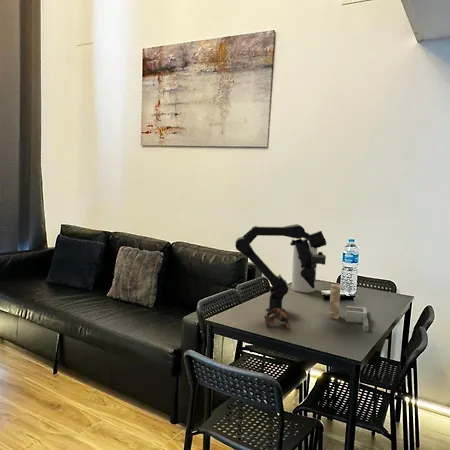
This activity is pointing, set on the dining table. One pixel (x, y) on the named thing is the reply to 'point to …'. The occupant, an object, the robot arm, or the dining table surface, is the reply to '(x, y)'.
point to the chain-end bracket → (357, 316)
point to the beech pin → (334, 301)
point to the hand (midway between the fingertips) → (314, 284)
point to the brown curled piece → (277, 316)
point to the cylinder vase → (297, 281)
